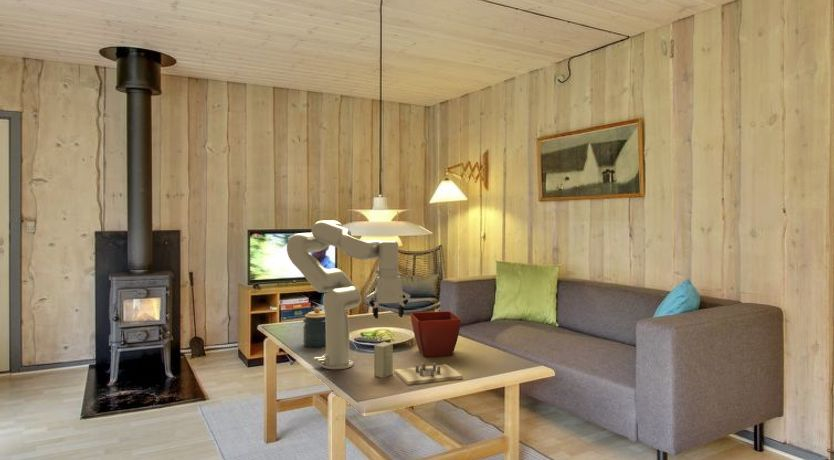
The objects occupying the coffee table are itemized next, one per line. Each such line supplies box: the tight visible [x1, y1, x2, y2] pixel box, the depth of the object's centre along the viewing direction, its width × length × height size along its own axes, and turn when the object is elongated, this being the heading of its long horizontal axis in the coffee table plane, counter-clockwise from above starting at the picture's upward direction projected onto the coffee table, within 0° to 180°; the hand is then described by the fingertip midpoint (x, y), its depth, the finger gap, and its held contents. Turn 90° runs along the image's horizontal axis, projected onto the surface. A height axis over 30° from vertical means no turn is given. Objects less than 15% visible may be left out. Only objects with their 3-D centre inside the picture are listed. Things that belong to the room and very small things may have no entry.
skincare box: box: [373, 341, 394, 379], centre depth 206 cm, size 6×4×12 cm
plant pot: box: [410, 310, 462, 358], centre depth 239 cm, size 19×19×17 cm
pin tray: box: [393, 361, 464, 386], centre depth 206 cm, size 22×16×4 cm
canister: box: [302, 307, 326, 349], centre depth 254 cm, size 13×13×18 cm
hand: (388, 317), depth 206 cm, fingers open, 9 cm apart
